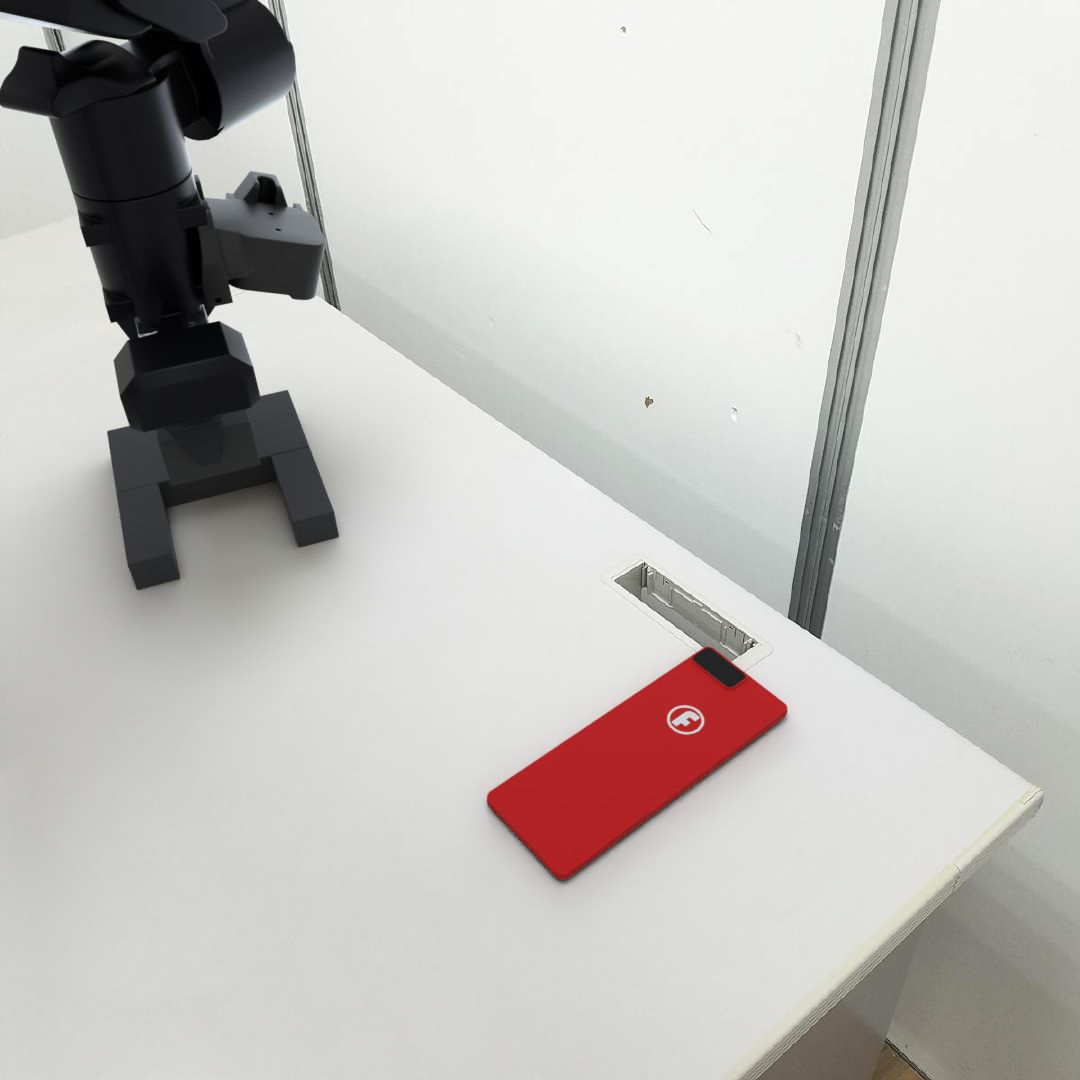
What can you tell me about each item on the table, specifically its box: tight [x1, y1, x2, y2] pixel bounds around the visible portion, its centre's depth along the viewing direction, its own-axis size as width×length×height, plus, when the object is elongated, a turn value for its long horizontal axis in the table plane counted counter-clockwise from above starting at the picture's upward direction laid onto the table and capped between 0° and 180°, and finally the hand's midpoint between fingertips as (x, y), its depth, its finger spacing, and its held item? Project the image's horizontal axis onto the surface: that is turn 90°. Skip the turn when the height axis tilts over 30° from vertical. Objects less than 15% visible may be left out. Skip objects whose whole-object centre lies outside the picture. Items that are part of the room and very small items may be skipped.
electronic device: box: [486, 646, 788, 881], centre depth 56 cm, size 6×1×15 cm
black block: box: [156, 409, 260, 486], centre depth 65 cm, size 5×5×3 cm
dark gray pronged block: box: [106, 389, 340, 590], centre depth 72 cm, size 12×14×2 cm
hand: (204, 437), depth 65 cm, fingers closed on black block, 5 cm apart
